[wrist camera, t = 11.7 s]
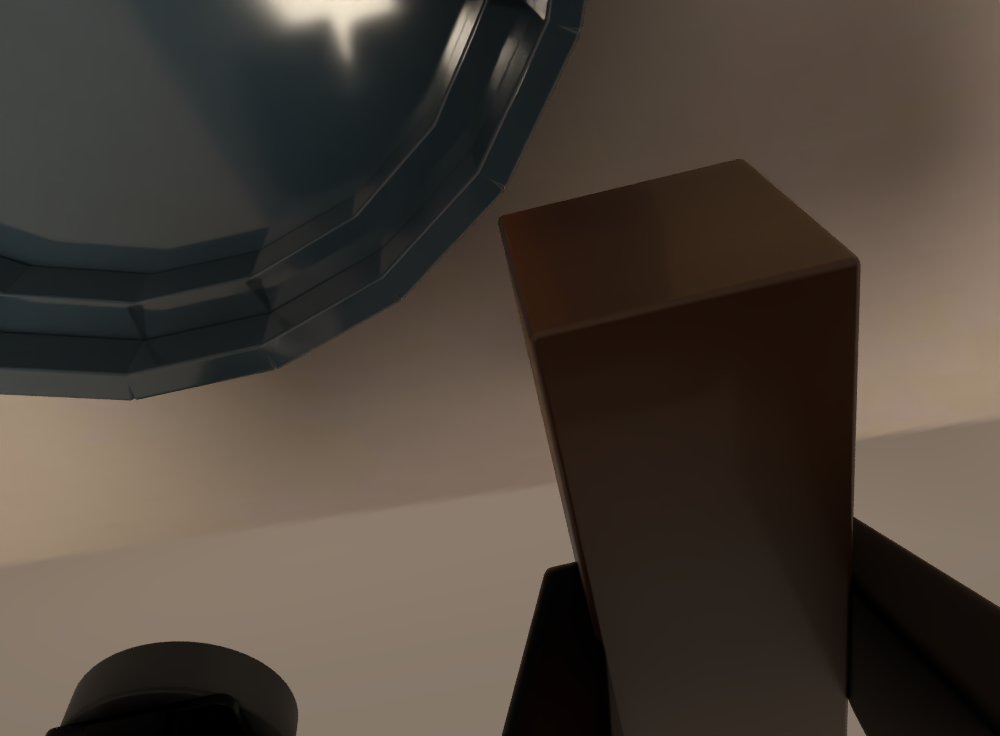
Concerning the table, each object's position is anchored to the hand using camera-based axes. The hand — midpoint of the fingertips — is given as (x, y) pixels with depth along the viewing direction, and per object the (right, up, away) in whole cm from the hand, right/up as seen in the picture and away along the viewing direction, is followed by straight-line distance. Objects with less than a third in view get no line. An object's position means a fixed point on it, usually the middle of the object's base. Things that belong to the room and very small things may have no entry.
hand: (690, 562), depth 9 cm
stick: (0, +1, +1) cm, 1 cm away
